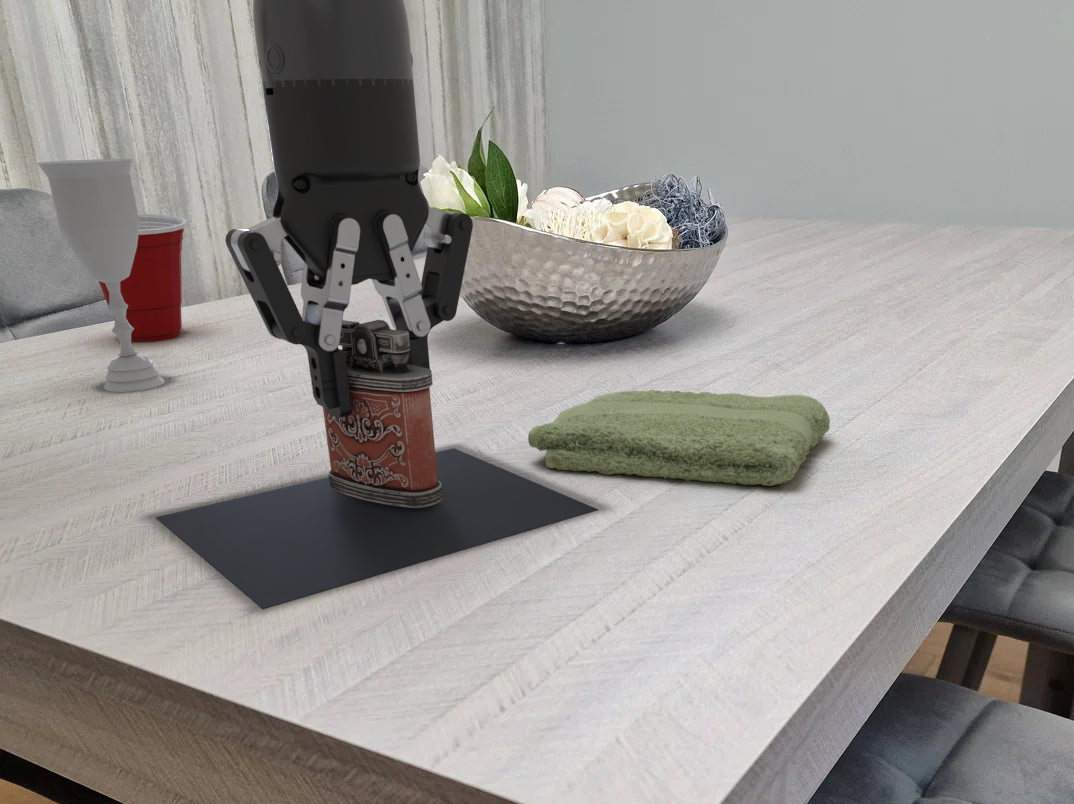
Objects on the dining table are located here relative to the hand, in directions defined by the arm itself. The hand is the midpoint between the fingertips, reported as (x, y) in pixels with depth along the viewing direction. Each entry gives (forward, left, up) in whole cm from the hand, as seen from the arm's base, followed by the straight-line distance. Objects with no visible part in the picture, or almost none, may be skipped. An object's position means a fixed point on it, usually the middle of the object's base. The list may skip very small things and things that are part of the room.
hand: (375, 405), depth 60 cm
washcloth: (+19, -5, -6) cm, 21 cm away
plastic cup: (+5, +62, -6) cm, 62 cm away
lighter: (0, 0, -5) cm, 5 cm away
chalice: (-3, +41, -6) cm, 41 cm away
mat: (-2, -2, -6) cm, 6 cm away
